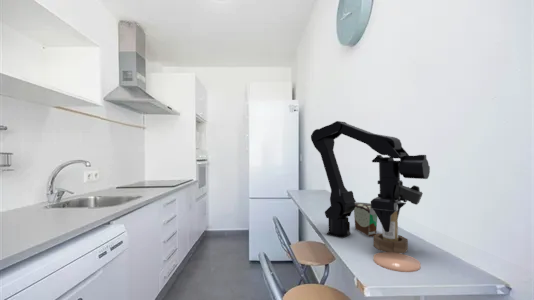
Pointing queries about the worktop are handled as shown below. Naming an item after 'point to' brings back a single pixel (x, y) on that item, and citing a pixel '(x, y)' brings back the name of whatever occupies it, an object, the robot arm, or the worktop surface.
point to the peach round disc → (396, 262)
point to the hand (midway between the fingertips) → (390, 228)
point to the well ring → (390, 244)
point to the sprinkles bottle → (392, 229)
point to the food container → (365, 219)
